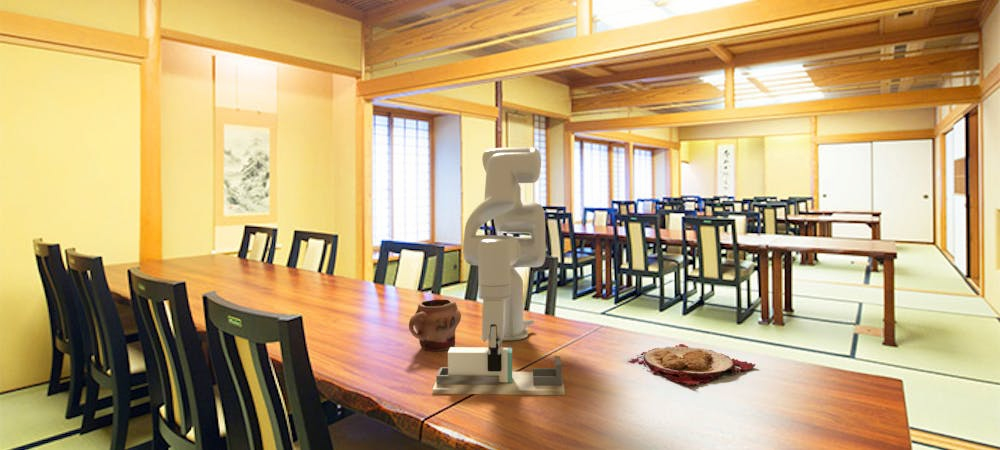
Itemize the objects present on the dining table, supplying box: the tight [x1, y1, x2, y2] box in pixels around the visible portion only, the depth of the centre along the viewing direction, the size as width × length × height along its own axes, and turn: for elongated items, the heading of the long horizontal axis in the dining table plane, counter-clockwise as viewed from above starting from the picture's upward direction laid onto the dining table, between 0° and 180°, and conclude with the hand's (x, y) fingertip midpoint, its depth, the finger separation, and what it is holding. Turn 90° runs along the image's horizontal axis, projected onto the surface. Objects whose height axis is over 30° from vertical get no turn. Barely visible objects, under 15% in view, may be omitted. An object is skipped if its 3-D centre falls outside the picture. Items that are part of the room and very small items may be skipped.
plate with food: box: [627, 343, 756, 386], centre depth 134 cm, size 24×26×4 cm
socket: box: [532, 355, 563, 386], centre depth 120 cm, size 6×6×5 cm
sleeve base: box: [432, 366, 566, 396], centre depth 121 cm, size 30×12×3 cm, turn 87°
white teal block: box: [447, 346, 513, 382], centre depth 121 cm, size 15×4×7 cm, turn 87°
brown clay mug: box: [408, 298, 462, 352], centre depth 149 cm, size 20×12×14 cm, turn 150°
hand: (495, 366), depth 121 cm, fingers closed on white teal block, 4 cm apart
